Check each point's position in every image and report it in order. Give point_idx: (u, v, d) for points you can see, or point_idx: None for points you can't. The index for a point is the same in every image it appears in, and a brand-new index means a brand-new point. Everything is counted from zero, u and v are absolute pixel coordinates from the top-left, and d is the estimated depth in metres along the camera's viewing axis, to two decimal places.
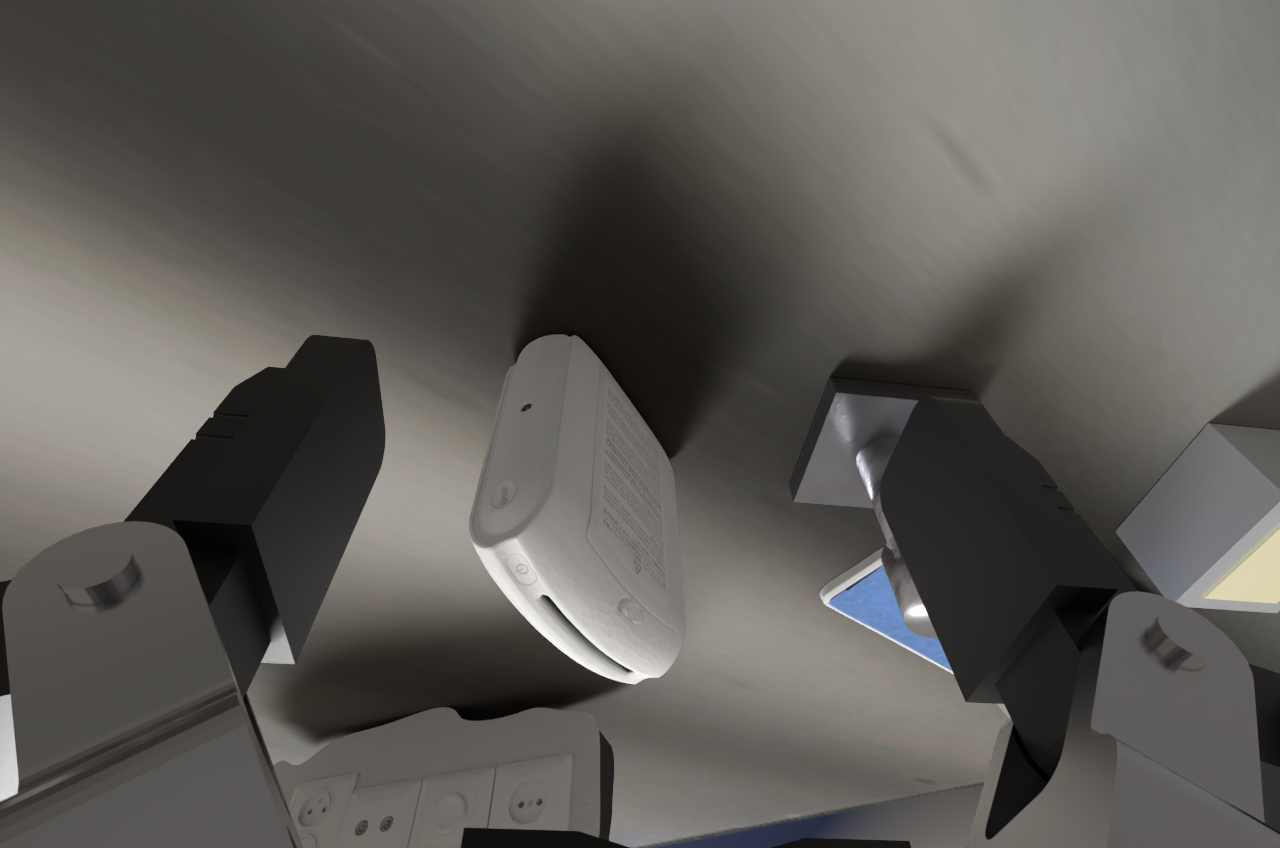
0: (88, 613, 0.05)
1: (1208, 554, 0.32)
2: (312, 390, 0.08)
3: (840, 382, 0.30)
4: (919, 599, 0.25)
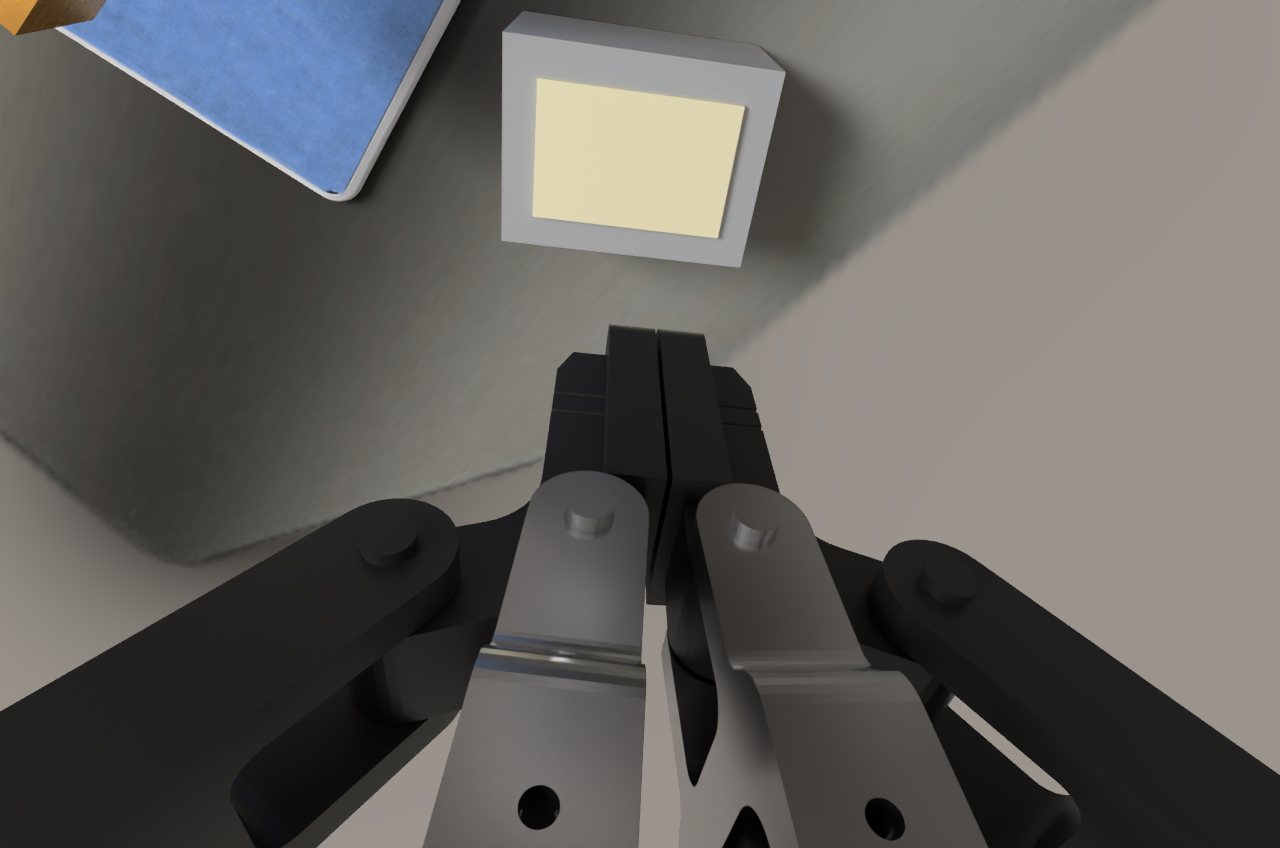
0: (602, 541, 0.06)
1: (627, 46, 0.19)
2: (642, 370, 0.09)
3: None
4: None
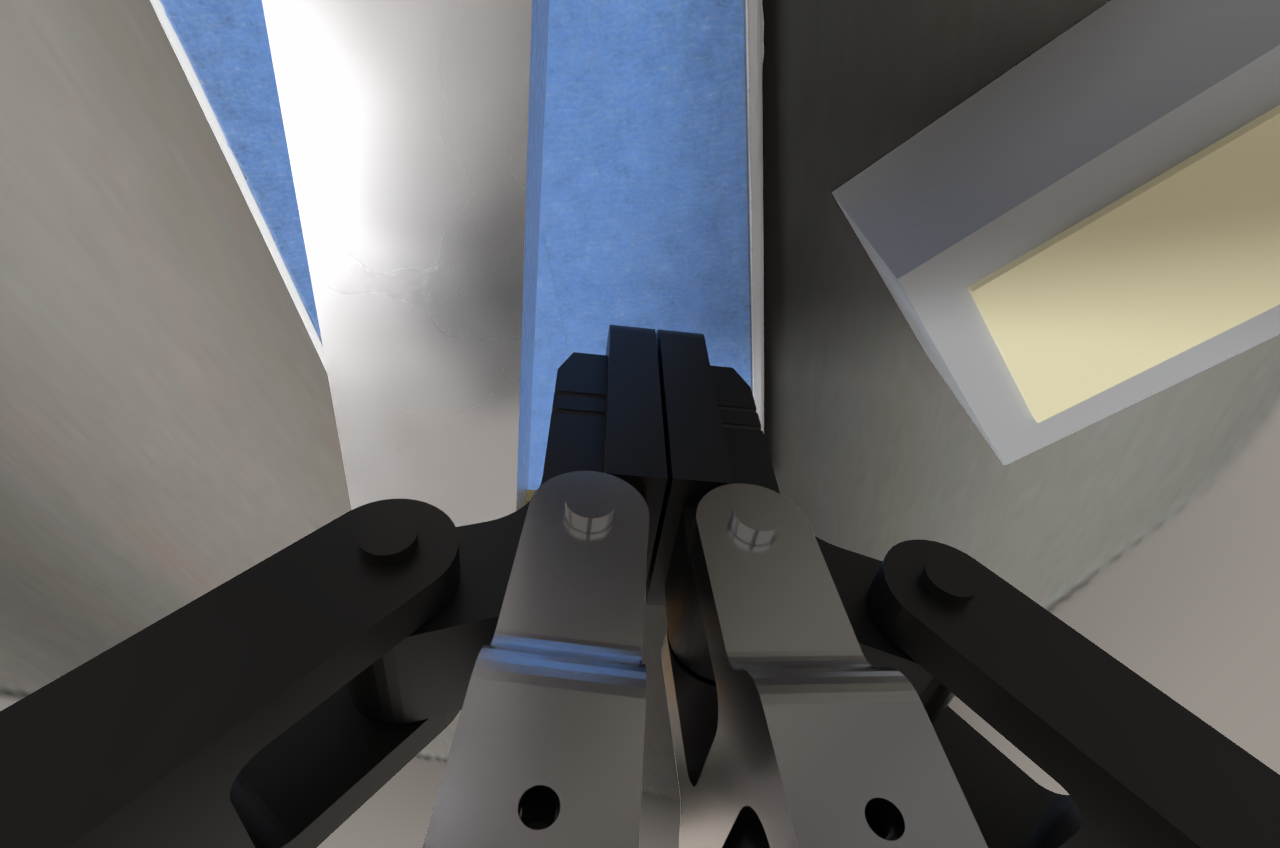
0: (602, 541, 0.06)
1: (1067, 156, 0.12)
2: (642, 371, 0.09)
3: None
4: None
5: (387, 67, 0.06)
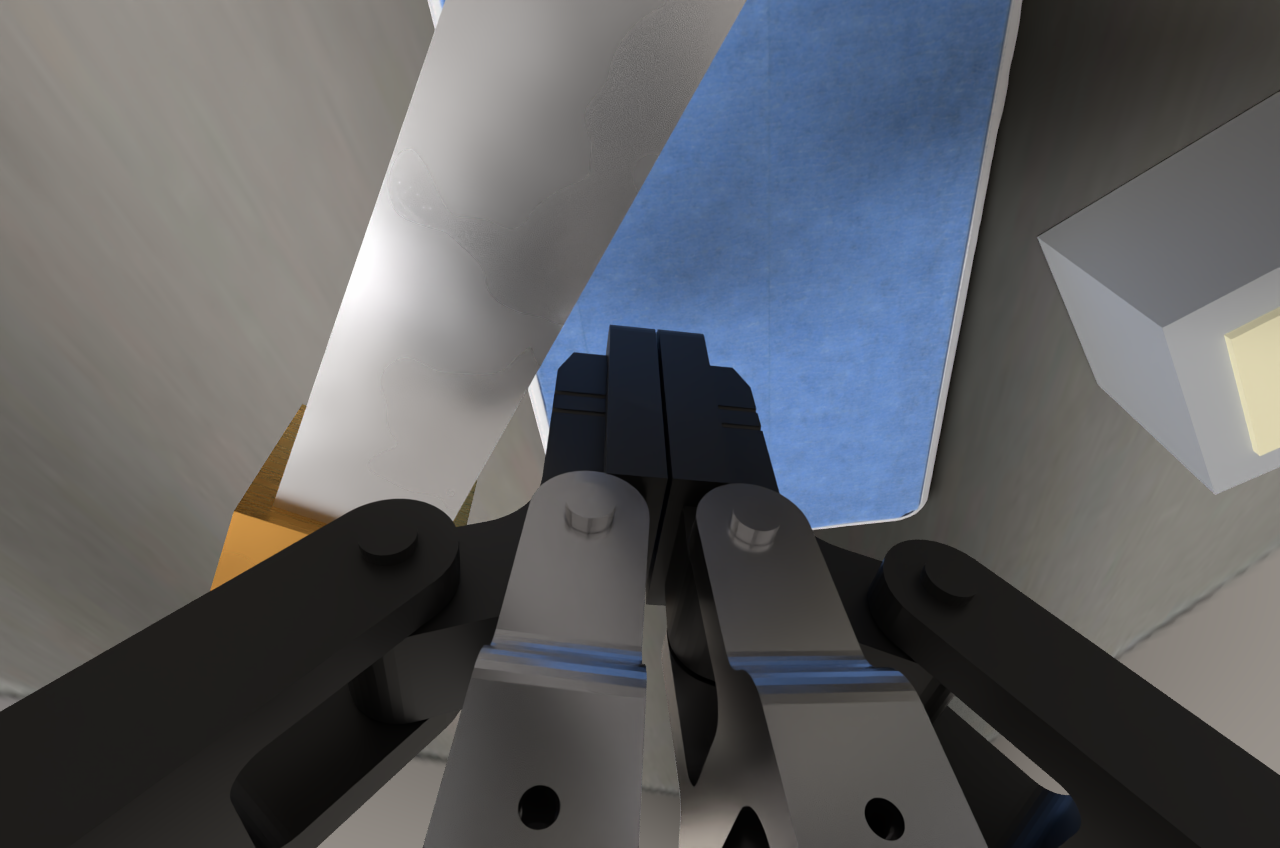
0: (602, 541, 0.06)
1: None
2: (642, 371, 0.09)
3: None
4: None
5: (565, 30, 0.06)
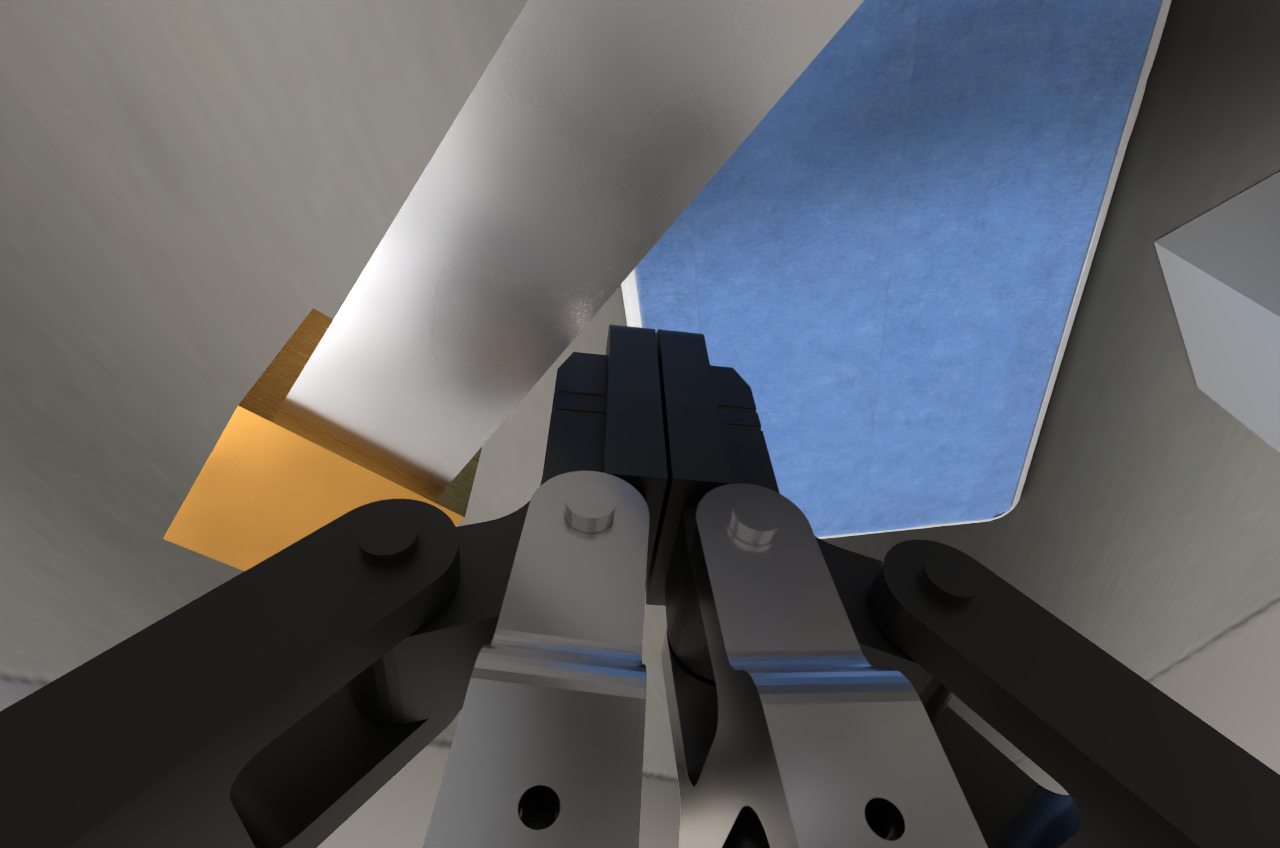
0: (602, 542, 0.06)
1: None
2: (642, 371, 0.09)
3: None
4: None
5: None
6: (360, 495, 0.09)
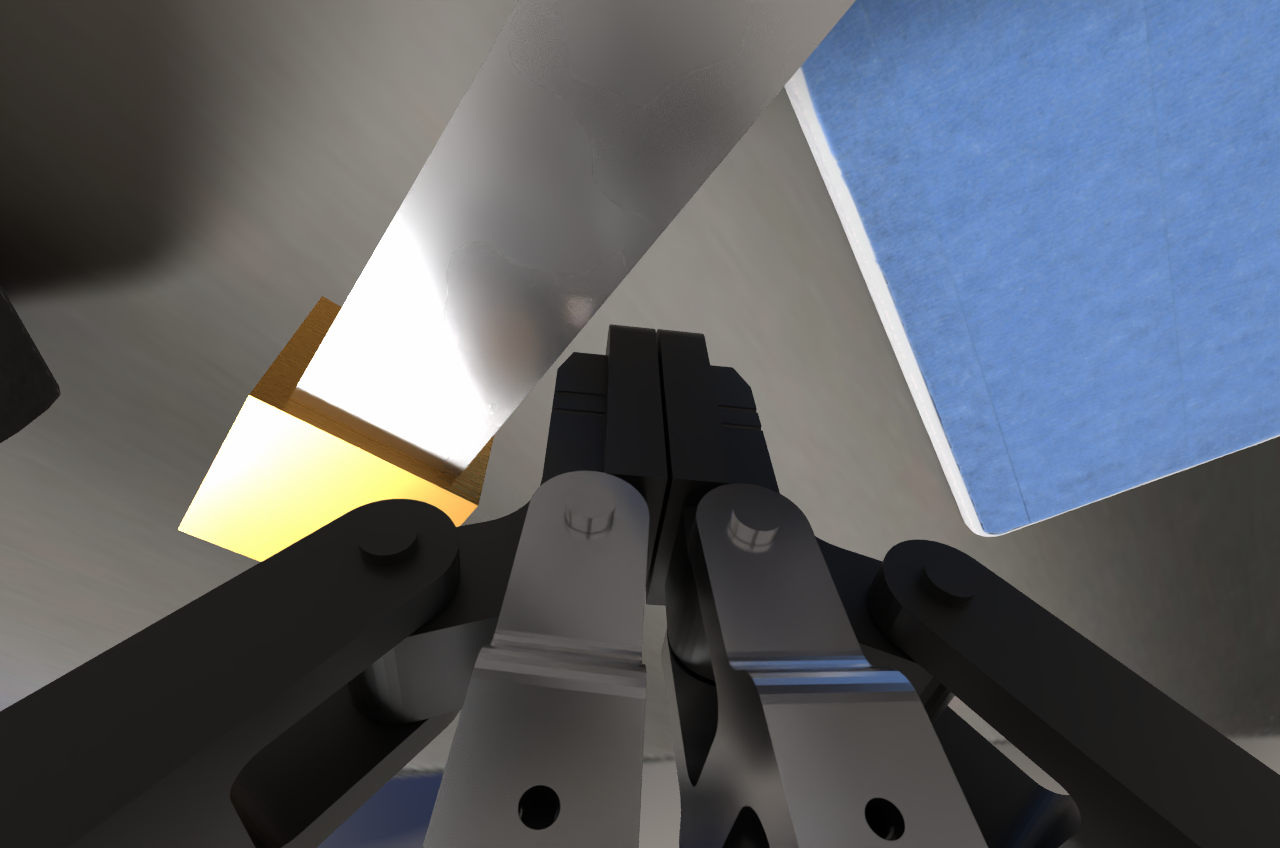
0: (602, 541, 0.06)
1: None
2: (642, 371, 0.09)
3: None
4: None
5: None
6: (373, 484, 0.09)
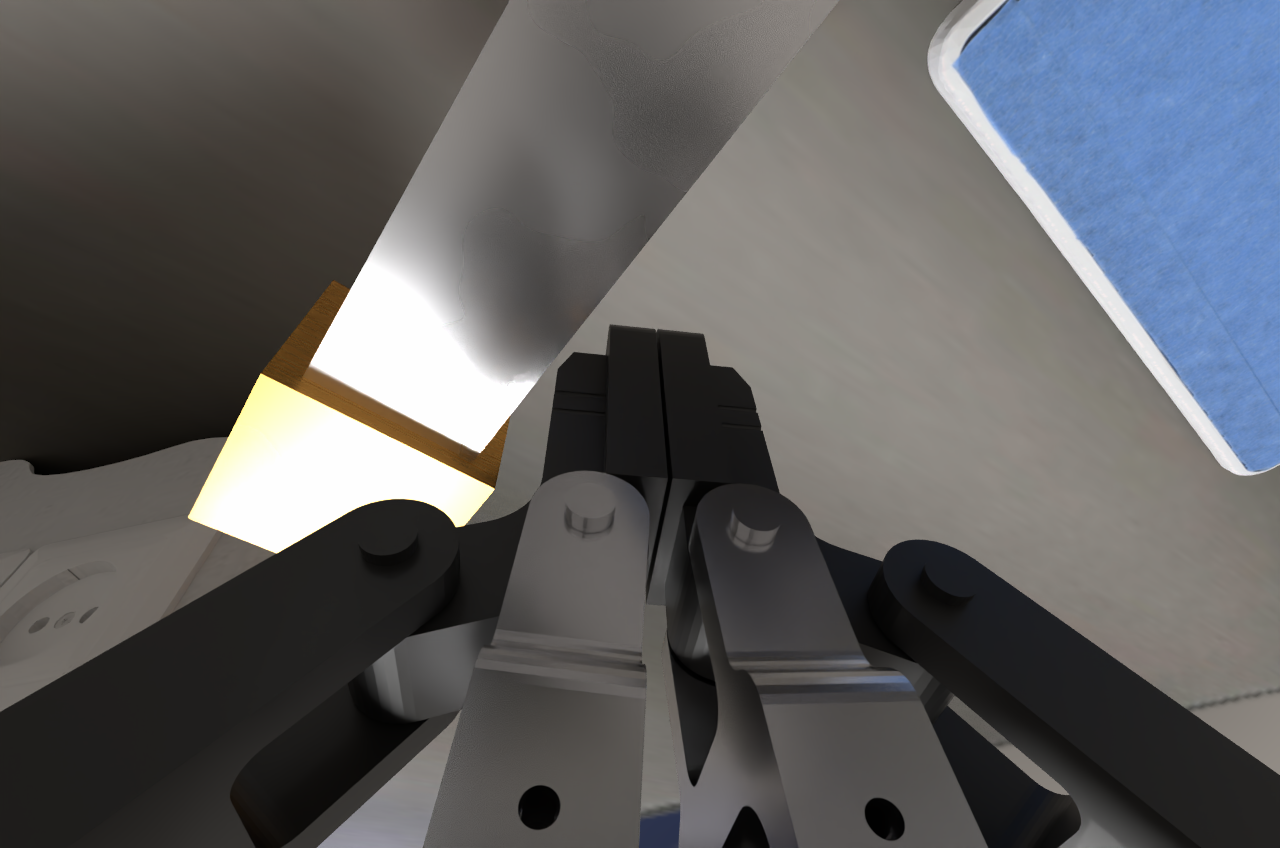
0: (602, 542, 0.06)
1: None
2: (642, 371, 0.09)
3: None
4: None
5: None
6: (387, 467, 0.09)
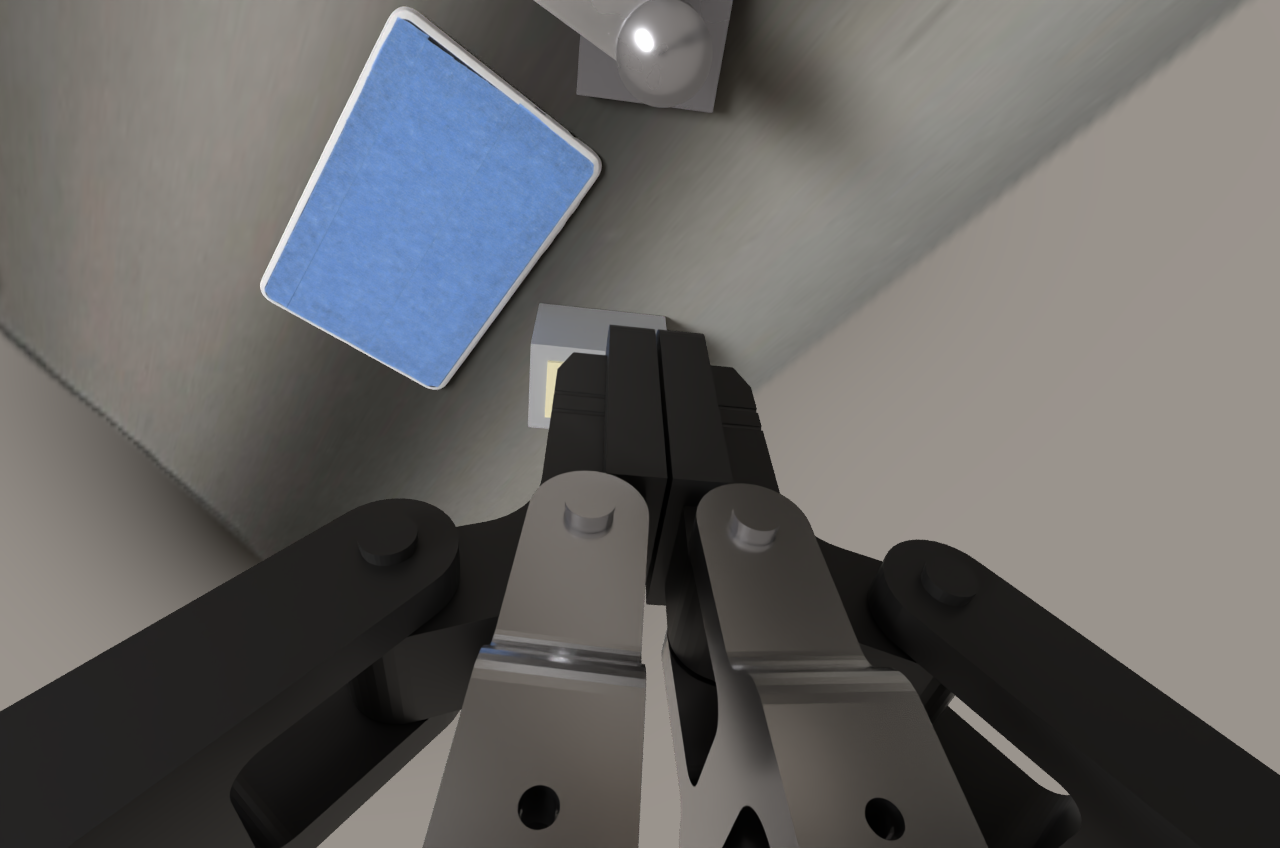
0: (602, 541, 0.06)
1: (591, 345, 0.39)
2: (642, 370, 0.09)
3: None
4: (708, 64, 0.25)
5: None
6: None
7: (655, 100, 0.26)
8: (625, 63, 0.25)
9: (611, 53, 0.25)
